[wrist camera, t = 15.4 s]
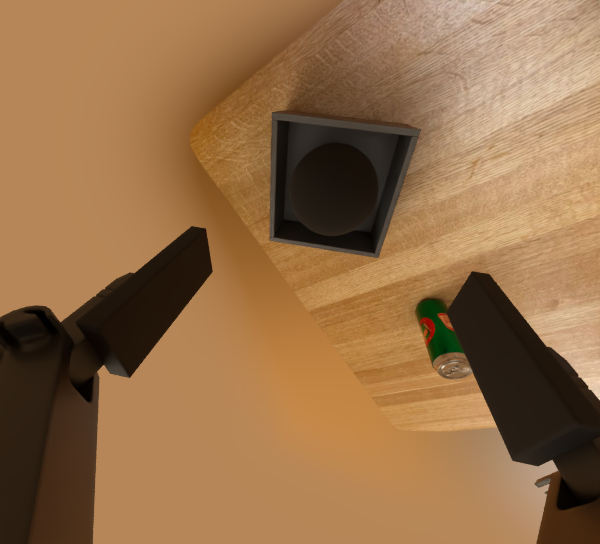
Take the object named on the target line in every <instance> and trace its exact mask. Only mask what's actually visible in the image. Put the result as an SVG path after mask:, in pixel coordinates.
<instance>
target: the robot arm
mask: <svg viewBox="0 0 600 544" xmlns="http://www.w3.org/2000/svg"><path fill="white" fill-rule="evenodd" d="M211 273H212V264H211V259H210V252H209V245H208V239H207V233H206V229H205V228H199V227H193V226H191V227H190V228H189V229H188V230H187V231H185V232H184V233H183V234H182V235H180V236H179V237H178V238H177V239H176V240H174V241H173V242H172V243H171V244H170V245H168V246H167V247H166V248H165V249H164V250H162V251H161V252H160V253H159V254H157V255H156V256H155V257H154V258H153V259H151V260H150V261H149V262H148V263H146V264H145V265H144V266H143V267H142V268H140V269H139V270H138V271H137V272H136V273H128V274H126V275H124V276H122V277H119V278H117V279H116V280H114V281H113V282H112V283H111V284H109V285H108V286H107V287H106V288H105V289H103V290H102V291H100V292H99V293H98V294H97V295H96V297H95V296H94V297H93V298H91V299H90V300H89V301H87V302H86V303H85V304H84V305H82V306H81V307H80V308H79V309H77V310H76V311H75V312H73V313H72V314H71V315H70V316H68V317H67V318H66V319H64V320H63V321H62V322H61V323H60V321H59V320H58V319H57V317H56V316H55V315H54V313H53V312H52V311H51V309H49V308H47V307H46V306H29V307H24V308H21V309H18V310H14V311H12V312H10V313H8V314H6V315H4V316H2V317H0V544H93V520H94V495H95V494H94V493H95V472H96V445H97V423H98V399H99V398H98V397H99V376H98V373H97V371H98V370H99V369H100V368H101V367H102V366H103V365H105V367H106V368H107V370H108V371H109V372H110V374H115V375H119V376H123V377H128V378H130V377H131V376H132V374H133V373H134V372H135V370H136V369H137V368H138V367H139V365H140V364H141V363H142V362H143V360H144V359H145V358H146V356H147V355H148V354H149V353H150V351H151V350H152V349H153V347H154V346H155V345H156V343H157V342H158V341H159V340H160V338H161V337H162V336H163V334H164V333H165V332H166V331H167V329H168V328H169V327H170V326H171V324H172V323H173V322H174V321H175V319H176V318H177V317H178V315H179V314H180V313H181V312H182V310H183V309H184V308H185V306H186V305H187V304H188V303H189V301H190V300H191V299H192V297H193V296H194V295H195V293H196V292H197V291H198V290H199V288H200V287H201V286H202V285H203V283H204V282H205V281H206V279H207V278H208V277H209V276H210V274H211ZM446 314H447V316H448V318H449V320H450V323H451V325H452V327H453V329H454V332H455V334H456V336H457V338H458V340H459V343H460V345H461V347H462V349H463V352H464V354H465V356H466V358H467V360H468V363H469V365H470V367H471V369H472V372H473V374H474V376H475V378H476V380H477V383H478V385H479V387H480V389H481V392H482V394H483V396H484V398H485V400H486V403H487V405H488V407H489V409H490V412H491V414H492V416H493V418H494V421H495V423H496V425H497V427H498V429H499V432H500V434H501V436H502V438H503V440H504V443H505V445H506V447H507V449H508V452H509V454H510V456H511V458H512V460H513V461H516V462H521V463H525V464H530V465H534V466H540V465H542V464H544V463H546V462H548V461H550V460H553V461H554V463H555V465H556V467H557V469H558V470H559V471H557V472H555V473H552V474H550V475H548V476H545V477H543V478H541V479H538V480H537V481H536V483H535V485H536V486H537V487H541V486H544V485H547V484H550V486H549V490H548V491H547V492H545V494H547V498H546V503H545V507H544V512H543V517H542V521H541V526H540V530H539V535H538V539H537V544H600V400H599V399H598V398H597V397H596V396H595V394H594V393H593V392H592V391H591V390H589V389H588V386H587V385H586V383H585V382H584V381H583V380H582V379H581V378H579V377H578V374H577V373H576V371H575V370H574V369H573V368H572V366H571V365H570V364H569V363H568V362H567V361H566V360H565V359H564V358H563V357H562V356H560V355H559V354H558V353H557V352H556V351H554V350H553V349H552V348H551V347H546V345H545V344H544V343H543V342H542V340H541V339H540V338H539V336H538V335H537V334H536V333H535V331H534V330H533V329H532V328H531V326H530V325H529V324H528V323H527V321H526V320H525V319H524V318H523V316H522V315H521V314H520V312H519V311H518V310H517V309H516V307H515V306H514V305H513V304H512V302H511V301H510V300H509V299H508V297H507V296H506V295H505V293H504V292H503V291H502V290H501V288H500V287H499V286H498V285H497V283H496V282H495V281H494V280H493V278H492V277H491V276H490V275H489V274H485V273H479V272H473V271H472V272H471V274H470V275H469V277H468V279H467V280H466V282H465V283H464V285H463V286H462V288H461V290H460V291H459V293H458V294H457V296H456V297H455V299H454V301H453V302H452V304H451V305H450V307H449V308H448V310H447V312H446Z"/></svg>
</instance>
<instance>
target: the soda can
mask: <svg viewBox="0 0 600 544" xmlns="http://www.w3.org/2000/svg"><path fill="white" fill-rule="evenodd" d="M447 310H448V307H447V305H446V304H445V303H444V302H443V301H440V300H436V299H430V300H426V301H423V302H422V303H420V304H419V305H418V306H417V308H416V311H415V313H416V317H417V320H418V323H419V326H420V329H421V332H422V335H423V338H424V341H425V345H426V348H427V351H428V354H429V357H430V360H431V363H432V366H433V368H434V369H435V370H436V371H437V372H438V374H439V375H440V376H441V377H443V378H446V379H462V378H465V377H467V376H469V375H470V374H472V369H471V367H470V365H469V363H468V360H467V358H466V356H465V354H464V352H463V349H462V347H461V345H460V343H459V340H458V338H457V336H456V334H455V332H454V329H453V327H452V325H451V323H450V320H449V318H448V316H447V314H446V312H447Z"/></svg>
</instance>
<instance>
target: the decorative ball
mask: <svg viewBox="0 0 600 544" xmlns="http://www.w3.org/2000/svg"><path fill="white" fill-rule="evenodd" d="M289 194H290V202H291V205H292V208H293V211H294V213H295V215H296V216H297V218H298V219H299V220H300V222H301V223H302V224H303V225H304V226H306V227H307V228H308V229H310V230H311V231H313V232H315V233H318V234H321V235H326V236H338V235H343V234H346V233H349V232H351V231H353V230H355V229H356V228H358V227H359V226H360V225H362V224H363V223H364V222H365V221H366V220H367V218H368V217H369V216H370V214H371V213H372V211H373V209H374V207H375V204H376V201H377V197H378V178H377V174H376V171H375V169H374V167H373V165H372V163H371V162H370V160H369V159H368V158H367V156H366V155H365V154H363V153H362V152H361V151H360V150H358V149H356V148H355V147H352V146H350V145H347V144H342V143H330V144H325V145H322V146H319V147H317V148H315V149H313V150H311V151H310V152H309V153H307V154H306V155H305V156H304V157H303V158H302V159H301V160H300V162H299V163H298V165H297V166H296V168H295V170H294V172H293V174H292V178H291V181H290V189H289Z"/></svg>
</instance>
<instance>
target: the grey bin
mask: <svg viewBox="0 0 600 544" xmlns="http://www.w3.org/2000/svg"><path fill="white" fill-rule="evenodd" d="M420 131H421V130H420V129H418V128H415V127H412V126H410V125H407V124H399V123H391V122H382V121H374V120H365V119H357V118H348V117H339V116H331V115H322V114H314V113H305V112H297V111H288V110H284V111H277V112H272V139H271V191H270V241H275V242H281V243H287V244H294V245H300V246H306V247H313V248H319V249H325V250H331V251H338V252H344V253H350V254H357V255H363V256H369V257H375V258H378V257H379V254H380V251H381V248H382V245H383V242H384V239H385V236H386V233H387V230H388V227H389V224H390V221H391V218H392V215H393V212H394V209H395V206H396V203H397V200H398V197H399V194H400V191H401V188H402V185H403V182H404V179H405V176H406V173H407V170H408V167H409V164H410V161H411V158H412V155H413V152H414V149H415V146H416V143H417V140H418V136H419V134H420ZM330 143H342V144H347V145H350V146H352V147H355V148H356V149H358V150H360V151H361V152H362V153H363V154H365V155H366V156H367V158H368V159H369V160H370V162H371V163H372V165H373V167H374V169H375V171H376V174H377V178H378V197H377V201H376V204H375V207H374V209H373V211H372V213H371V214H370V216H369V217H368V218H367V220H366V221H365V222H364V223H363V224H362V225H360V226H359V227H358V228H356V229H355V230H353V231H351V232H349V233H346V234H343V235H338V236H326V235H321V234H318V233H315V232H313V231H311V230H310V229H308V228H307V227H306V226H304V225H303V224H302V223H301V222H300V220H299V219H298V218H297V216H296V215H295V213H294V211H293V208H292V205H291V202H290V194H289V189H290V181H291V178H292V174H293V172H294V170H295V168H296V166H297V165H298V163H299V162H300V160H301V159H302V158H303V157H304V156H305V155H306V154H307V153H309V152H310V151H311V150H313V149H315V148H317V147H319V146H322V145H325V144H330Z"/></svg>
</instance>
